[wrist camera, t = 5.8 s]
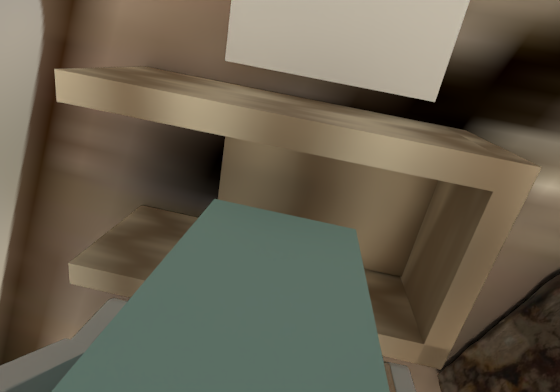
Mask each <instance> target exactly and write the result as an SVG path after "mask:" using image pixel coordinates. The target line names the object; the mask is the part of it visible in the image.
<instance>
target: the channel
mask: <svg viewBox="0 0 560 392" xmlns="http://www.w3.org/2000/svg"><path fill="white" fill-rule="evenodd" d="M54 70H55V84H56V98H57V102H62V103H66V104H71V105H76V106H81V107H86V108H91V109H96V110H100V111H105V112H110V113H115V114H120V115H125V116H129V117H134V118H139V119H144V120H149V121H154V122H159V123H163V124H168V125H173V126H178V127H183V128H188V129H192V130H197V131H202V132H207V133H212V134H217V135H221V136H225V143H224V152H223V160H222V169H221V177H220V186H219V194H218V200H223V201H227V202H232V203H236V204H241V205H246V206H250V207H255V208H260V209H264V210H269V211H273V212H278V213H283V214H287V215H292V216H297V217H301V218H306V219H310V220H315V221H320V222H324V223H329V224H334V225H338V226H343V227H348V228H352V229H356V233H357V237H358V242H359V247H360V252H361V257H362V261H363V266H364V271H365V276H366V281H367V285H368V290H369V295H370V300H371V304H372V309H373V314H374V319H375V324H376V328H377V333H378V338H379V343H380V348H381V352H382V356H384V357H389V358H393V359H397V360H402V361H406V362H410V363H415V364H419V365H423V366H428V367H432V368H436V369H442V367H443V365H444V363H445V361H446V359H447V357H448V355H449V353H450V351H451V349H452V347H453V345H454V343H455V341H456V339H457V337H458V335H459V333H460V331H461V329H462V327H463V325H464V323H465V321H466V319H467V317H468V315H469V313H470V311H471V309H472V307H473V305H474V303H475V301H476V299H477V297H478V295H479V293H480V291H481V289H482V287H483V285H484V283H485V281H486V279H487V277H488V275H489V273H490V271H491V268H492V266H493V264H494V262H495V260H496V258H497V256H498V254H499V252H500V250H501V248H502V246H503V244H504V242H505V240H506V238H507V236H508V234H509V232H510V230H511V228H512V226H513V224H514V222H515V220H516V218H517V216H518V214H519V212H520V210H521V208H522V206H523V204H524V202H525V200H526V198H527V196H528V194H529V192H530V190H531V188H532V186H533V184H534V182H535V180H536V178H537V176H538V174H539V172H540V170H541V168H542V167H540V166H538V165H536V164H534V163H532V162H530V161H528V160H525V159H523V158H521V157H519V156H517V155H515V154H513V153H511V152H509V151H507V150H505V149H503V148H501V147H499V146H497V145H495V144H493V143H490V142H488V141H486V140H484V139H482V138H480V137H478V136H476V135H474V134H472V133H470V132H468V131H466V130H461V129H456V128H451V127H446V126H441V125H436V124H431V123H426V122H421V121H416V120H411V119H406V118H401V117H396V116H391V115H386V114H381V113H376V112H371V111H366V110H361V109H356V108H351V107H346V106H341V105H336V104H331V103H326V102H321V101H316V100H311V99H306V98H301V97H296V96H291V95H286V94H281V93H276V92H271V91H266V90H261V89H256V88H251V87H246V86H241V85H236V84H231V83H226V82H221V81H216V80H210V79H205V78H200V77H195V76H190V75H185V74H180V73H175V72H170V71H165V70H160V69H155V68H150V67H107V68H70V69H54ZM197 219H198V217H193V216H189V215H184V214H179V213H175V212H170V211H166V210H161V209H157V208H152V207H147V206H143V205H141V206H140V207H139V208H138V209H136V210H135V211H134V212H133V213H131V214H130V215H129V216H127V217H126V218H125V219H124V220H122V221H121V222H120V223H119V224H117V225H116V226H115V227H113V228H112V229H111V230H110V231H108V232H107V233H106V234H105V235H103V236H102V237H101V238H99V239H98V240H97V241H96V242H94V243H93V244H92V245H91V246H89V247H88V248H87V249H86V250H84V251H83V252H82V253H80V254H79V255H78V256H77V257H75V258H74V259H73V260H72V261H70V262H69V263H68V267H69V281H70V284H73V285H77V286H82V287H86V288H90V289H95V290H99V291H103V292H108V293H112V294H116V295H120V296H125V297H129V298H131V297H132V296H133V294H134V293H135V292H136V291H137V290H138V289H139V287H140V286H141V285H142V284H143V283H144V281H145V280H146V279H147V278H148V277H149V276H150V274H151V273H152V272H153V271H154V270H155V268H156V267H157V266H158V265H159V264H160V263H161V261H162V260H163V259H164V258H165V257H166V255H167V254H168V253H169V252H170V251H171V250H172V248H173V247H174V246H175V245H176V244H177V242H178V241H179V240H180V239H181V238H182V237H183V235H184V234H185V233H186V232H187V231H188V229H189V228H190V227H191V226H192V225H193V224H194V222H195V221H196V220H197Z"/></svg>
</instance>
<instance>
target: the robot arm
mask: <svg viewBox="0 0 560 392" xmlns="http://www.w3.org/2000/svg"><path fill="white" fill-rule="evenodd" d="M126 303H127V301H124V300H120V299H116V298H112V299H110V300H108V301H107V302H106V303H105V304H104V305H103V306H102V307H101V308H100V309H99V310H98V311H97V312H96V313H95V314H94V316H93V317H92V318H91V319H90V320H89V321H88V322H87V323H86V324H85V325H84V326H83V327H82V328H81V329H80V330H79V331H78V332H77V334H76V335H75V336H74V337H73V338H72V339H71V340H70V339H63V340H60V341H58V342H56V343H53V344H51V345H48V346H46V347H44V348H41V349H39V350H37V351H34V352H32V353H30V354H27V355H25V356H22V357H20V358H18V359H15V360H13V361H11V362H8V363H6V364H3V365H1V366H0V392H51V391H52V390H53V389H54V388H55V387H56V385H57V384H58V383H59V382H60V381H61V379H62V378H63V377H64V376H65V375H66V374H67V372H68V371H69V370H70V369H71V368H72V366H73V365H74V364H75V363H76V362H77V361H78V359H79V358H80V357H81V356H82V355H83V353H84V352H85V351H86V350H87V349H88V348H89V346H90V345H91V344H92V343H93V342H94V341H95V339H96V338H97V337H98V336H99V335H100V333H101V332H102V331H103V330H104V329H105V328H106V326H107V325H108V324H109V323H110V322H111V320H112V319H113V318H114V317H115V316H116V315H117V313H118V312H119V311H120V310H121V309H122V307H123V306H124V305H125V304H126ZM383 362H384V367H385V371H386V376H387V381H388V386H389V391H390V392H416V390H415V387H414V383H413V380H412V377H411V373H410V370H409V368H408V367H407V366H404V365H400V364H395V363H391V362H385V361H383Z"/></svg>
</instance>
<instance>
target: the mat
mask: <svg viewBox="0 0 560 392" xmlns="http://www.w3.org/2000/svg"><path fill="white" fill-rule="evenodd" d="M469 2H470V0H231V9H230V18H229V27H228V37H227V46H226V55H225V61H229V62H234V63H239V64H244V65H249V66H254V67H259V68H264V69H269V70H274V71H279V72H285V73H290V74H295V75H300V76H305V77H310V78H315V79H320V80H325V81H330V82H335V83H341V84H346V85H351V86H356V87H361V88H366V89H371V90H376V91H381V92H386V93H391V94H397V95H402V96H407V97H412V98H417V99H422V100H427V101H432V102H435V100H436V97H437V95H438V92H439V89H440V86H441V83H442V80H443V77H444V74H445V71H446V68H447V65H448V63H449V60H450V57H451V54H452V51H453V48H454V45H455V42H456V39H457V36H458V34H459V31H460V28H461V25H462V22H463V19H464V16H465V13H466V10H467V7H468V4H469Z"/></svg>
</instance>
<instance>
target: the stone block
mask: <svg viewBox="0 0 560 392" xmlns="http://www.w3.org/2000/svg"><path fill="white" fill-rule="evenodd" d="M438 379H439V385H440V389H441V392H560V274H559V275H557V276H556V277H554V278H553V279H551V280H550V281H548V282H547V283H545V284H544V285H543V286H542V287H541V288H540V289H539V290H538V291H536V292H535V293H534V294H533V295H532V296H531V297H530V298H529V299H528V300H527V301H525V302H524V303H523V304H522V305H520V306H519V307H518V308H517V309H515V310H514V311H513V312H512V313H510V314H509V315H508V316H507V317H505V318H504V319H503V320H502V321H501V322H499V323H498V324H497V325H496V326H495V327H493V328H492V329H491V330H490V331H489V332H487V333H486V334H485V335H484V336H483V337H482V338H481V339H480V340H478V341H477V342H475V343H473V344H472V345H470V346H469V347H468V348H467V349H466V350H465V351H464V352H463V353H462V354H461V355H460V356H459V357H458V358H457V359H456V360H455V361H454V362H453V363H451V364H450V365H448V366H447V367H446V368H445V369H444V370H443V371H442V372H440V373H439V374H438Z"/></svg>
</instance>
